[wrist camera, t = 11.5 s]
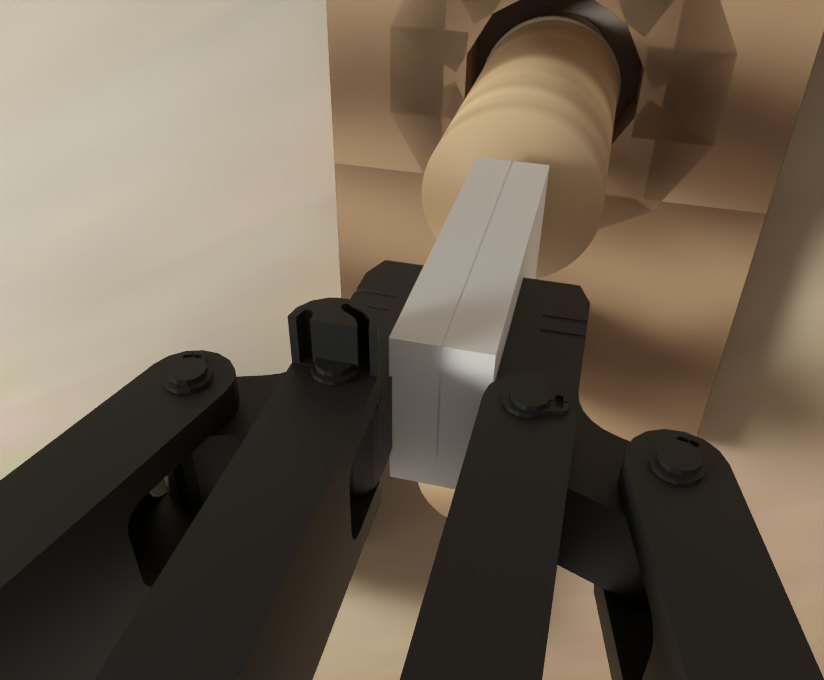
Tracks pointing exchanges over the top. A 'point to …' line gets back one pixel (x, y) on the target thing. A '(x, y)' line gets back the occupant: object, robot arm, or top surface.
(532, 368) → the robot arm
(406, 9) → the seat board
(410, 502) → the top surface
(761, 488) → the top surface
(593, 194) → the oak leg
